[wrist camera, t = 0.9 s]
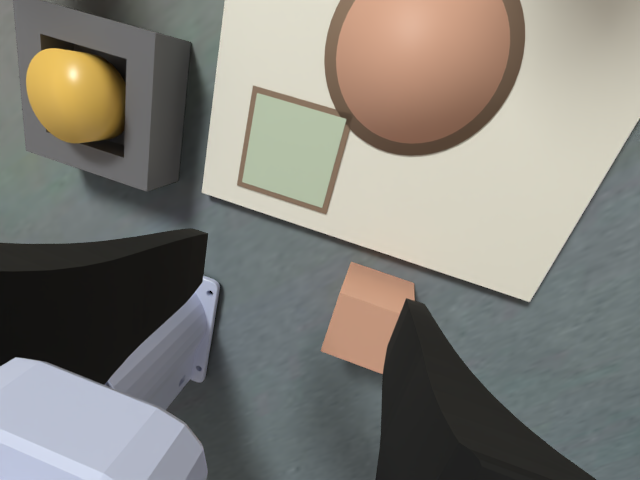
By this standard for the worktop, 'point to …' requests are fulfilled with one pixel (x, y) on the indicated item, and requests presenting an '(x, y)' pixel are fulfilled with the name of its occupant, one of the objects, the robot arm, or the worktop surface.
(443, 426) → the robot arm
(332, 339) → the terracotta crayon block
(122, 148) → the button housing
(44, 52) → the button
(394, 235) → the picture board
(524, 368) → the worktop surface
